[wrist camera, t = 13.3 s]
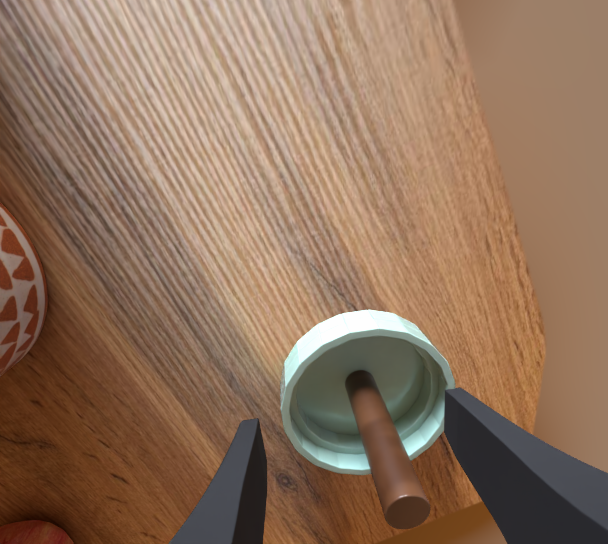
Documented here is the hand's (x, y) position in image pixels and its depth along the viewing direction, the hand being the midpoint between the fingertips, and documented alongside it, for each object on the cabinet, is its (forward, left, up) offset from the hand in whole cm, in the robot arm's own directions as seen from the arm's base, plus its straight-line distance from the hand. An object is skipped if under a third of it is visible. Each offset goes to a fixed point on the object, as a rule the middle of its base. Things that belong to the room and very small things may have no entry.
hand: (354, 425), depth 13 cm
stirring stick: (-2, +5, -9) cm, 10 cm away
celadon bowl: (-2, +5, -9) cm, 11 cm away
